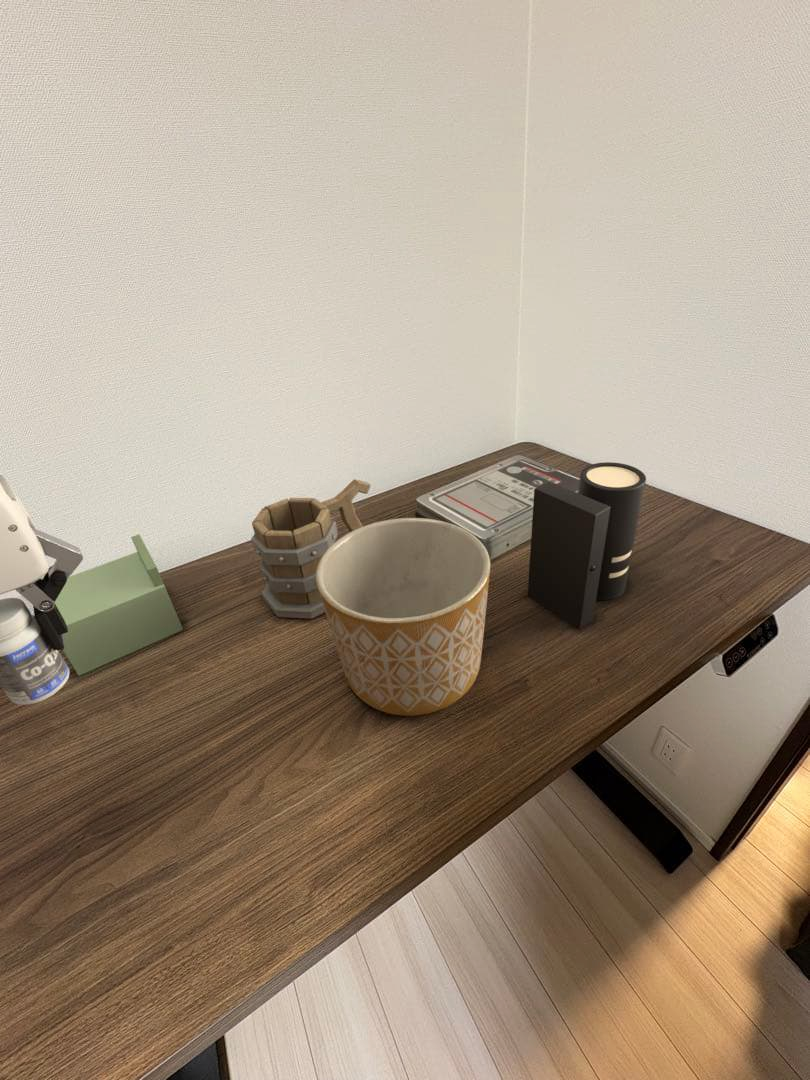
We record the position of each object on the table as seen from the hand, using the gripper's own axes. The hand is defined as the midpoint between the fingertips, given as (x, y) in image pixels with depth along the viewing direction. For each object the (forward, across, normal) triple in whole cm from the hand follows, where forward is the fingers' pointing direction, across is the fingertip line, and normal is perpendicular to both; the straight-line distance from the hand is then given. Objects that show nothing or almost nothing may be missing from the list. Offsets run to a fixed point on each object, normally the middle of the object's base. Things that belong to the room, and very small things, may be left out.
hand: (21, 653), depth 45 cm
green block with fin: (+21, -6, -27) cm, 35 cm away
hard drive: (+20, -70, -15) cm, 75 cm away
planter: (+20, -35, +6) cm, 41 cm away
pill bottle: (+4, 0, 0) cm, 4 cm away
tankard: (+21, -35, -18) cm, 45 cm away
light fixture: (+20, -63, +9) cm, 67 cm away
